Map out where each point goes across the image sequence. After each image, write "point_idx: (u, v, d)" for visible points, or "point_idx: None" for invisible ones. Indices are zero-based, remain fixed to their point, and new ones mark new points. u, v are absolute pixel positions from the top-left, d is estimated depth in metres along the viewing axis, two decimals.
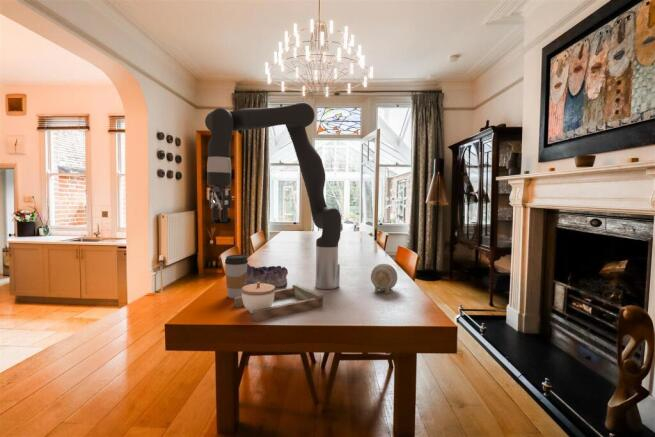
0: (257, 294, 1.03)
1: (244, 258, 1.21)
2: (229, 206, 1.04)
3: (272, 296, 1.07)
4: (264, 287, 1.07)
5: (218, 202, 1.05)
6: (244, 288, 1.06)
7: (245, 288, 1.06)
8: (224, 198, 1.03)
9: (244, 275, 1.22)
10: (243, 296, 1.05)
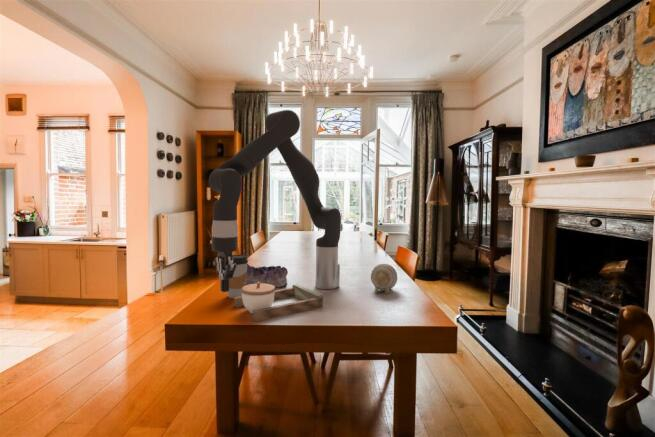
0: (257, 294, 1.03)
1: (244, 258, 1.21)
2: None
3: (272, 296, 1.07)
4: (264, 287, 1.07)
5: (221, 272, 0.99)
6: (244, 288, 1.06)
7: (245, 288, 1.06)
8: (227, 273, 0.97)
9: (244, 275, 1.22)
10: (243, 296, 1.05)
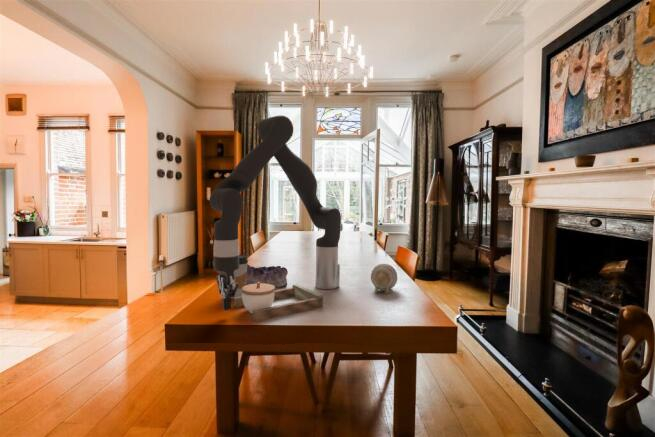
0: (257, 294, 1.03)
1: (244, 258, 1.21)
2: (232, 296, 1.00)
3: (272, 296, 1.07)
4: (264, 287, 1.07)
5: (223, 291, 1.00)
6: (244, 288, 1.06)
7: (245, 288, 1.06)
8: (229, 292, 0.98)
9: (244, 275, 1.22)
10: (243, 296, 1.05)
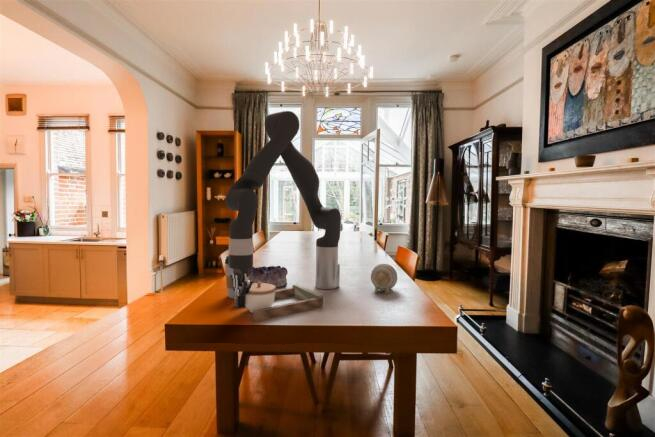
0: (258, 293, 1.03)
1: None
2: None
3: (273, 296, 1.07)
4: (265, 287, 1.07)
5: (237, 288, 1.02)
6: None
7: None
8: (244, 289, 1.00)
9: None
10: None
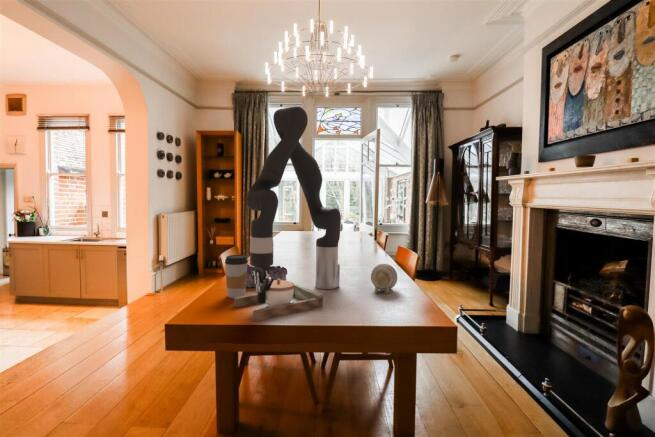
0: (278, 290, 1.07)
1: (244, 258, 1.21)
2: (267, 290, 1.07)
3: (292, 292, 1.11)
4: (284, 284, 1.11)
5: (258, 285, 1.07)
6: None
7: None
8: (265, 286, 1.05)
9: (244, 275, 1.22)
10: None
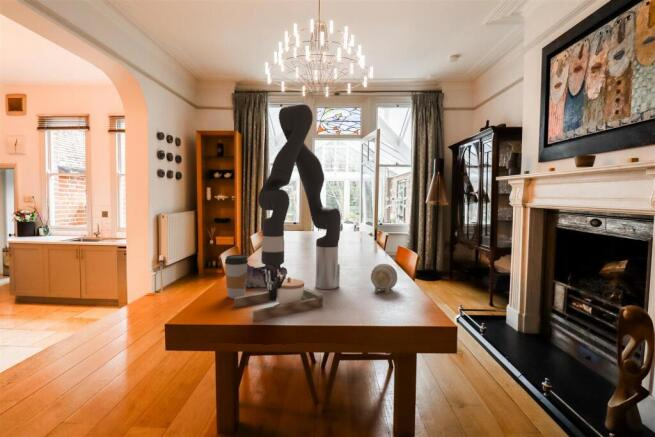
0: (289, 288, 1.10)
1: (244, 258, 1.21)
2: (278, 288, 1.09)
3: (302, 290, 1.13)
4: (295, 282, 1.14)
5: (270, 283, 1.09)
6: None
7: None
8: (277, 284, 1.07)
9: (244, 275, 1.22)
10: None
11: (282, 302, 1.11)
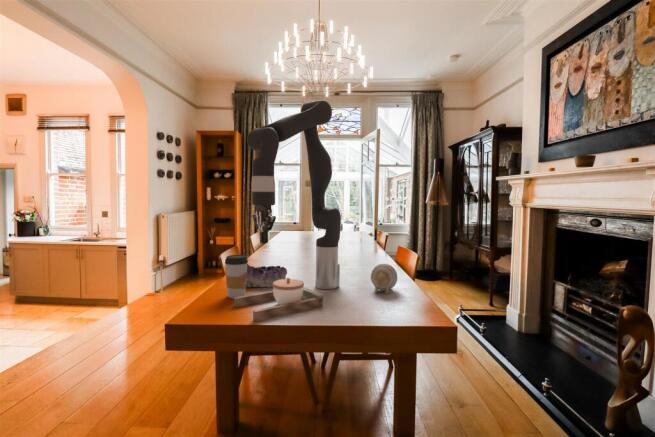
0: (289, 289, 1.09)
1: (244, 258, 1.21)
2: (270, 229, 1.07)
3: (302, 291, 1.13)
4: (294, 283, 1.14)
5: (261, 224, 1.07)
6: (275, 283, 1.13)
7: (276, 283, 1.13)
8: (268, 224, 1.04)
9: (244, 275, 1.22)
10: (275, 291, 1.12)
11: (282, 303, 1.11)
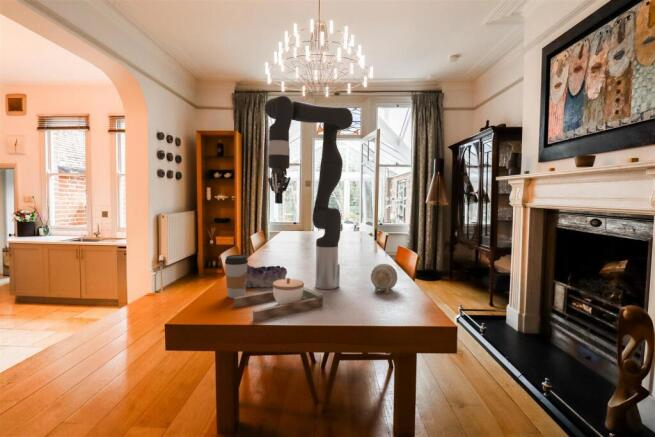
0: (289, 288, 1.09)
1: (244, 258, 1.21)
2: (284, 190, 1.16)
3: (302, 291, 1.13)
4: (294, 283, 1.14)
5: (276, 185, 1.16)
6: (275, 283, 1.13)
7: (276, 283, 1.13)
8: (283, 184, 1.14)
9: (244, 275, 1.22)
10: (275, 291, 1.12)
11: (282, 303, 1.11)
